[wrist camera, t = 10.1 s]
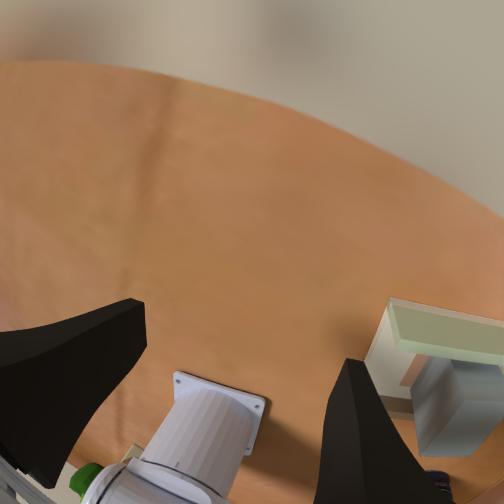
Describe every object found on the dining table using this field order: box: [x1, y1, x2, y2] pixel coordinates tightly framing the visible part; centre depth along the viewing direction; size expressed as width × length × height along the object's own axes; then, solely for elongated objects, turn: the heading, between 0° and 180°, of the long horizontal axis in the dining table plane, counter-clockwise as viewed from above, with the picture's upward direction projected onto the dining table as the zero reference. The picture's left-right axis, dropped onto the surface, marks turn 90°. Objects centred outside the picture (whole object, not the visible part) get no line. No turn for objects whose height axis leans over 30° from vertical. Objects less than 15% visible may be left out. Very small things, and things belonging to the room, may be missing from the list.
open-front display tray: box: [364, 297, 504, 420], centre depth 16 cm, size 8×12×4 cm, turn 82°
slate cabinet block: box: [410, 356, 504, 457], centre depth 14 cm, size 5×4×6 cm
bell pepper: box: [69, 463, 103, 503], centre depth 38 cm, size 8×8×10 cm
